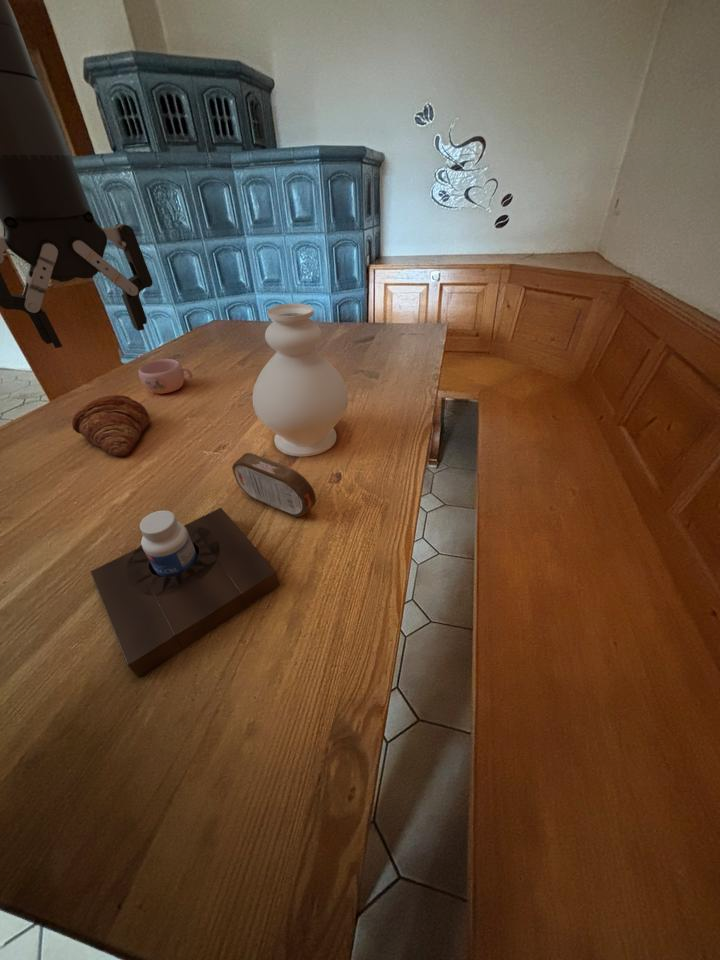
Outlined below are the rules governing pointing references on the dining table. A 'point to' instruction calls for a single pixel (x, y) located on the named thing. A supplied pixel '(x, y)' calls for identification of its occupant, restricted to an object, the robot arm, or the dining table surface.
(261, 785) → the dining table surface
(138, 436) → the pastry
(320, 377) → the decorative vase
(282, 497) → the tin
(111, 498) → the dining table surface
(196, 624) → the base pad
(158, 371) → the mug
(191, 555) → the pill bottle
